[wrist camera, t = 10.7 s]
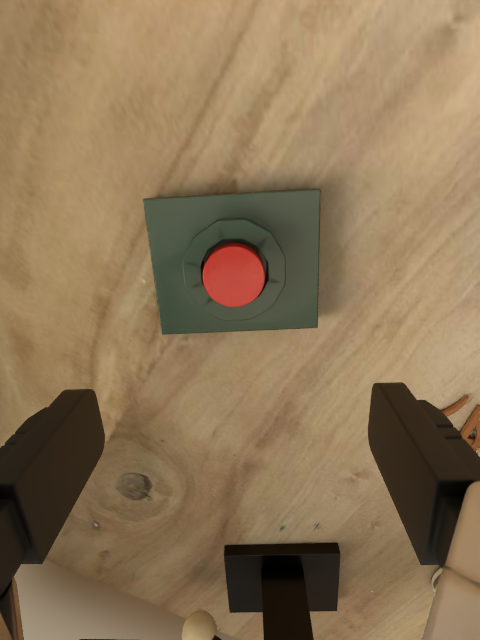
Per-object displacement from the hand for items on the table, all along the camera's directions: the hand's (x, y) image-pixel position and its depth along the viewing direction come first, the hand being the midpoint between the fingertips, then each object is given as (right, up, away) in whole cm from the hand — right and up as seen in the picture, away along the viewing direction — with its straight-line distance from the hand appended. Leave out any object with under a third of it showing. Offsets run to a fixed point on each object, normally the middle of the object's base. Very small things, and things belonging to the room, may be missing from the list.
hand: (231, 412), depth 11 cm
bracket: (+5, -25, +30) cm, 39 cm away
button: (0, +6, +14) cm, 16 cm away
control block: (0, +7, +18) cm, 19 cm away
